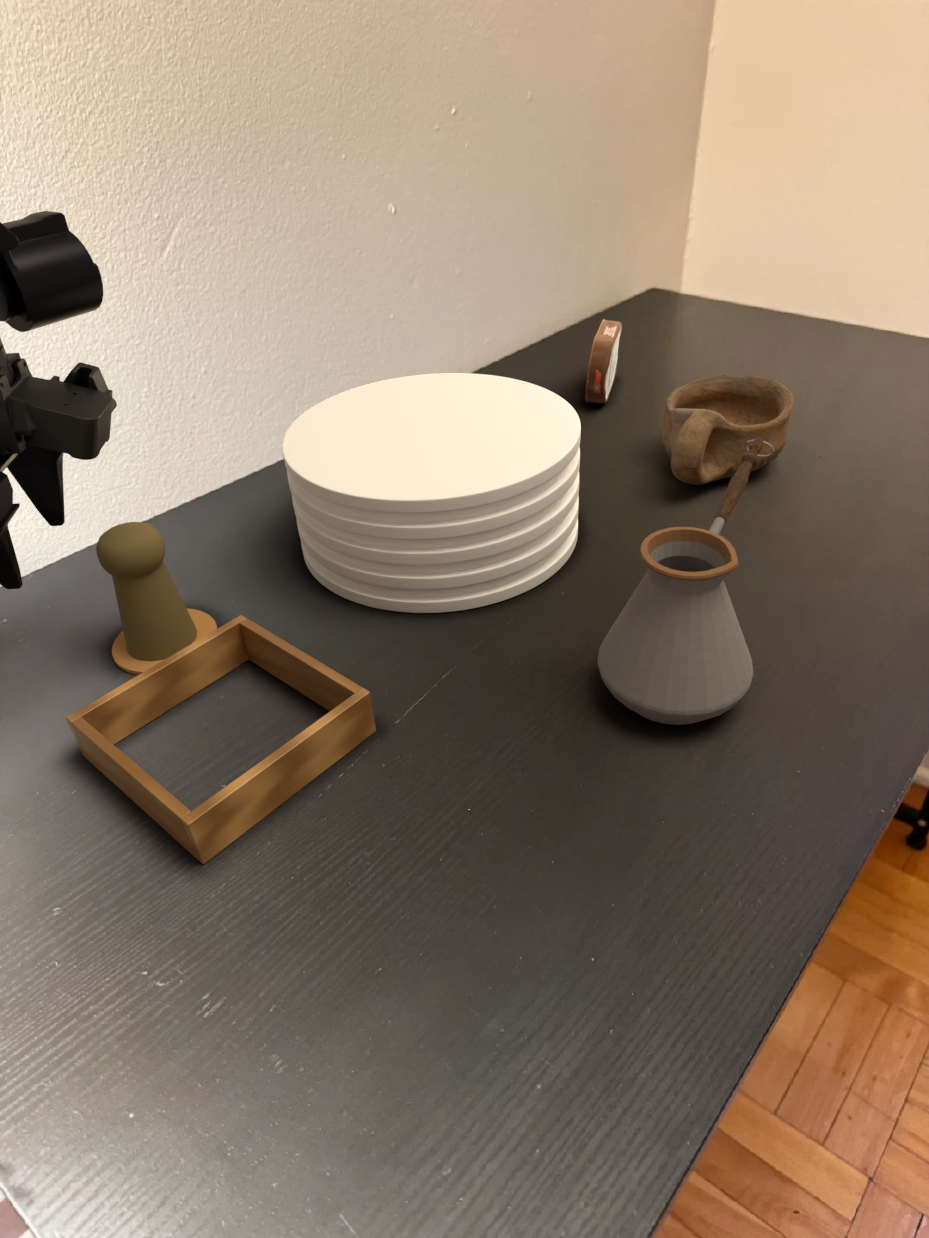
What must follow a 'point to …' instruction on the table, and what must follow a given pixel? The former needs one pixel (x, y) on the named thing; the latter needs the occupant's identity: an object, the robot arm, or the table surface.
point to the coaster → (135, 666)
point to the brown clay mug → (723, 425)
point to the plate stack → (435, 490)
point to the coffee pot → (682, 623)
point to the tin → (603, 362)
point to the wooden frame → (264, 781)
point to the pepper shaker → (145, 592)
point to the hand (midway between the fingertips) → (37, 554)
